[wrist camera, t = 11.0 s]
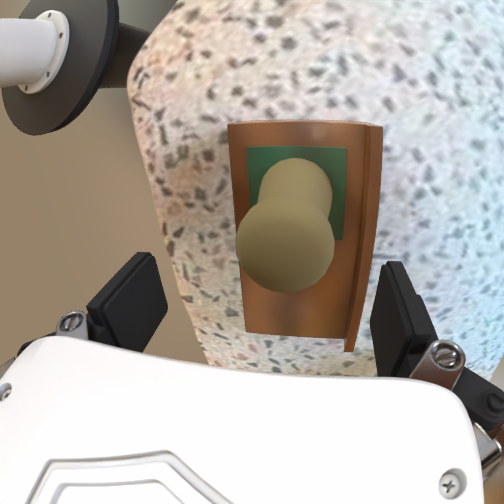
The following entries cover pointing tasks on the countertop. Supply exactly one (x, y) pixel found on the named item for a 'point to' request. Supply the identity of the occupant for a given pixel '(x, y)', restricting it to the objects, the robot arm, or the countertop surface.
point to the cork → (288, 228)
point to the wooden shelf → (340, 218)
